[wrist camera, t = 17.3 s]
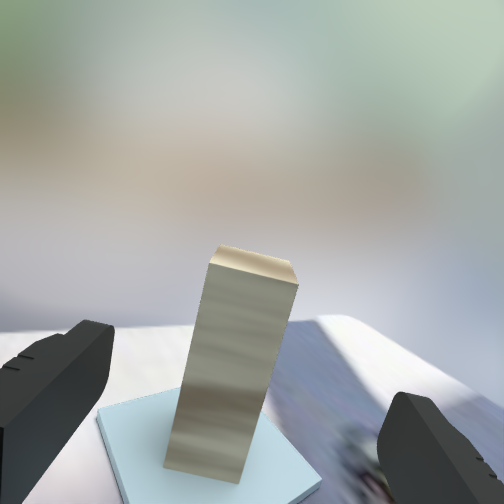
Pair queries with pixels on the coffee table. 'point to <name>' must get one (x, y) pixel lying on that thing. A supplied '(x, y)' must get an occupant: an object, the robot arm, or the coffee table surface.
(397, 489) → the robot arm
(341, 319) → the coffee table surface
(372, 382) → the coffee table surface
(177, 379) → the coffee table surface
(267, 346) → the maple peg
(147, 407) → the pale blue plate
